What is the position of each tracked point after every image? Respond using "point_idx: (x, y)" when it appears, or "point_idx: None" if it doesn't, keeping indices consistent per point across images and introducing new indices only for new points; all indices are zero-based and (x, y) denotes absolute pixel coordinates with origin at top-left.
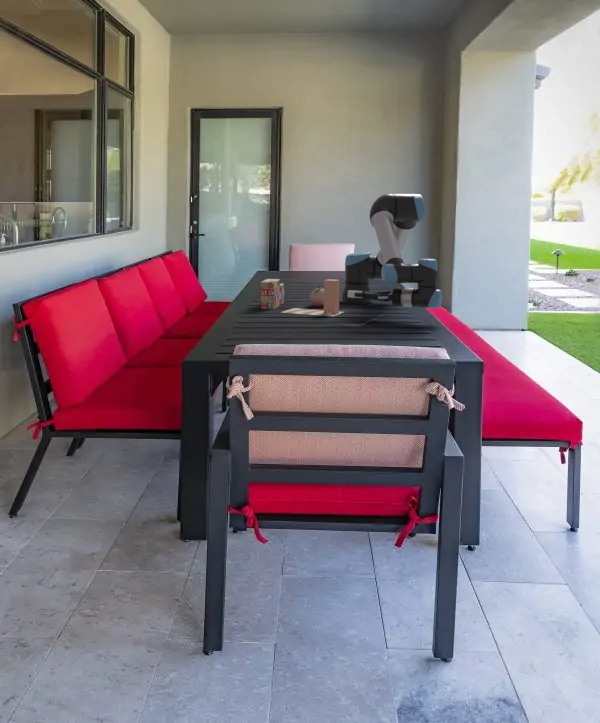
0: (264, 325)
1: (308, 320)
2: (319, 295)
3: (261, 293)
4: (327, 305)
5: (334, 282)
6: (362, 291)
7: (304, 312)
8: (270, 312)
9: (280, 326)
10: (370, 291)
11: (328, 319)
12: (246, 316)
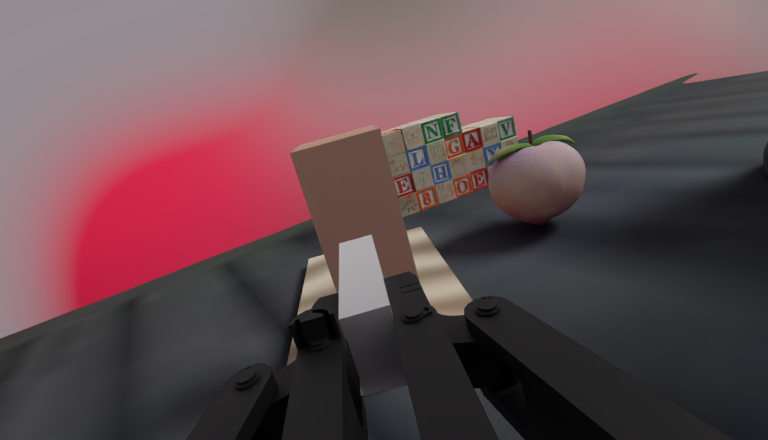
0: (54, 360)
1: (194, 376)
2: (504, 181)
3: None
4: None
5: (294, 164)
6: (301, 328)
7: None
8: None
9: (9, 405)
10: (488, 334)
11: None
12: (247, 258)
